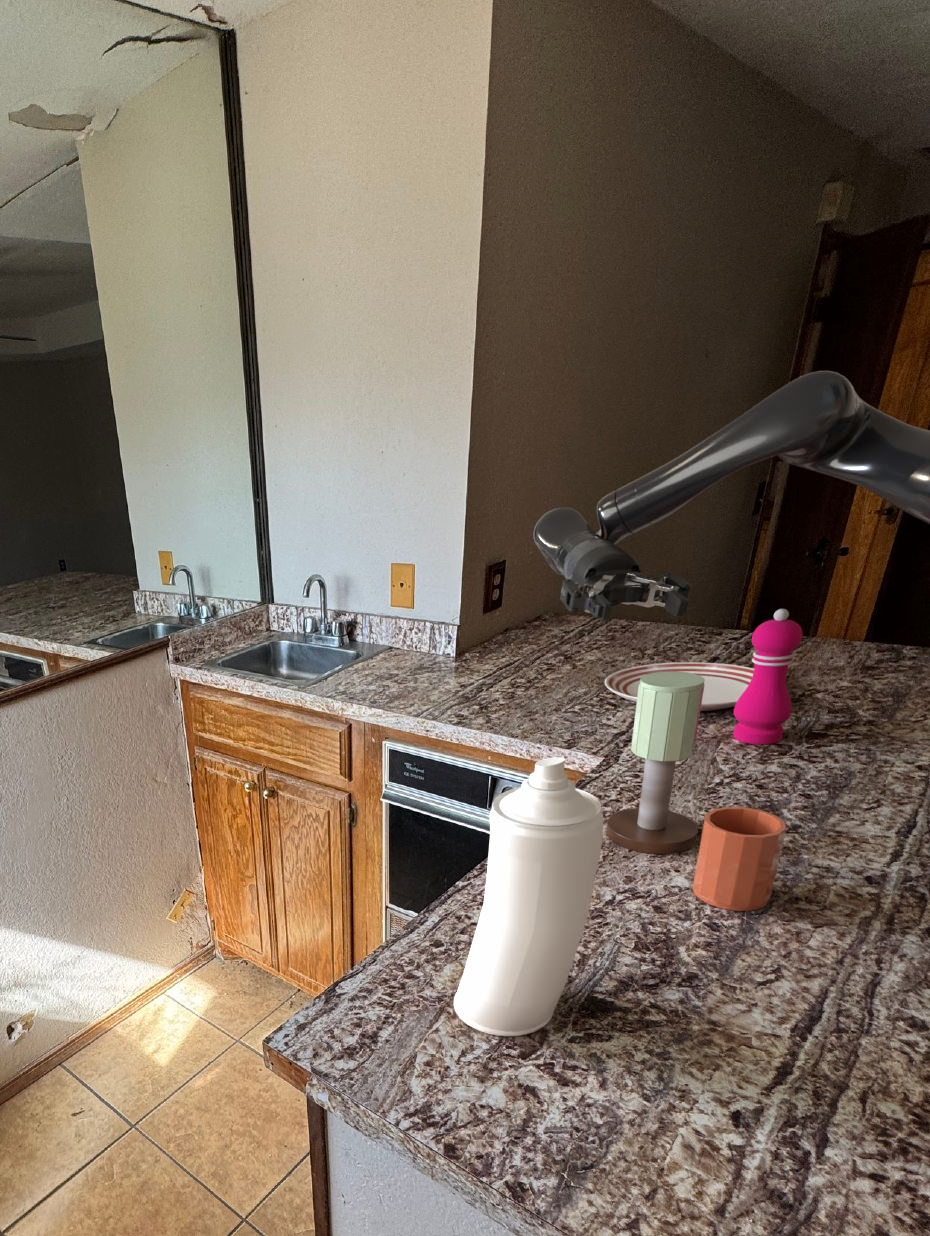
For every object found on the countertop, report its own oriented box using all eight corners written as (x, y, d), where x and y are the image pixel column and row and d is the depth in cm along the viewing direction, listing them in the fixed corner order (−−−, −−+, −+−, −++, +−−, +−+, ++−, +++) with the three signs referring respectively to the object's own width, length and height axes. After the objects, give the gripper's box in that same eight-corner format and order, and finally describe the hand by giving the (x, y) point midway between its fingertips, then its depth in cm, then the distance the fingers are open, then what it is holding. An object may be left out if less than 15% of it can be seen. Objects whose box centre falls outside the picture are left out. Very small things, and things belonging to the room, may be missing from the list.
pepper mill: (773, 749, 112) (801, 616, 103) (720, 740, 117) (743, 612, 108) (793, 735, 115) (822, 605, 106) (741, 726, 120) (764, 602, 112)
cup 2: (723, 870, 85) (736, 801, 81) (785, 899, 79) (803, 825, 75) (676, 888, 84) (688, 817, 80) (737, 918, 77) (752, 843, 74)
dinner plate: (596, 677, 152) (597, 661, 150) (754, 672, 142) (758, 655, 141) (612, 723, 129) (614, 705, 128) (801, 720, 119) (806, 701, 118)
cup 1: (659, 737, 93) (669, 668, 89) (705, 752, 88) (718, 678, 84) (619, 750, 91) (627, 679, 88) (664, 765, 86) (674, 691, 82)
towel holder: (647, 811, 100) (666, 667, 91) (715, 839, 91) (744, 683, 83) (588, 830, 98) (603, 684, 89) (653, 862, 89) (676, 703, 80)
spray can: (489, 952, 78) (497, 730, 67) (596, 986, 71) (625, 745, 60) (439, 1015, 71) (438, 777, 60) (553, 1060, 64) (577, 800, 53)
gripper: (550, 548, 102) (588, 584, 88) (660, 540, 100) (716, 576, 87) (542, 602, 106) (577, 644, 93) (647, 595, 104) (698, 637, 91)
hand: (644, 611), depth 90 cm, fingers open, 8 cm apart
